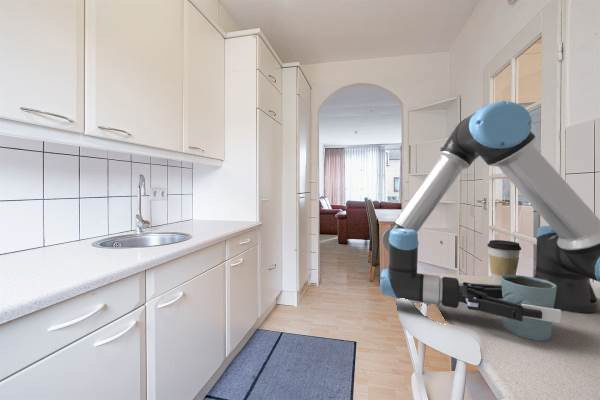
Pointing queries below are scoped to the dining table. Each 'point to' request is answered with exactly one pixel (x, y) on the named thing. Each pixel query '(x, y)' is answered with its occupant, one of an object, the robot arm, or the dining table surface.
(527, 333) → the embossed teal cup
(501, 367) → the dining table surface
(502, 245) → the coffee cup
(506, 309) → the robot arm
